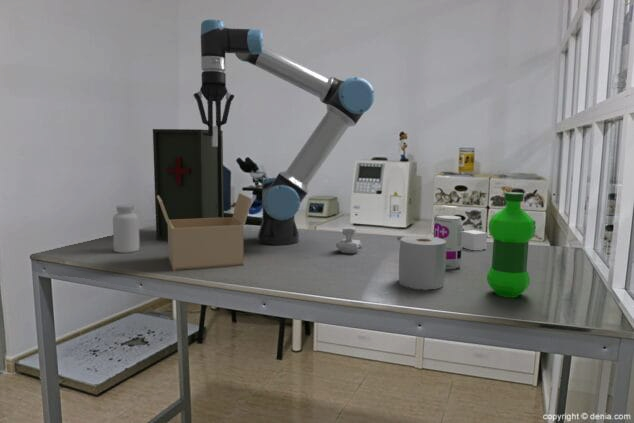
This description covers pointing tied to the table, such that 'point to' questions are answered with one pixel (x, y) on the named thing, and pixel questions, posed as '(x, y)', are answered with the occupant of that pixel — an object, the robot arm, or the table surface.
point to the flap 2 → (242, 208)
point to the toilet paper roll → (422, 262)
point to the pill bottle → (126, 229)
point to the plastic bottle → (510, 247)
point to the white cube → (474, 240)
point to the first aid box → (187, 176)
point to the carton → (205, 243)
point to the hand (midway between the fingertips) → (214, 146)
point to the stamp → (349, 241)
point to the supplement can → (450, 238)
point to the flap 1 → (164, 211)
